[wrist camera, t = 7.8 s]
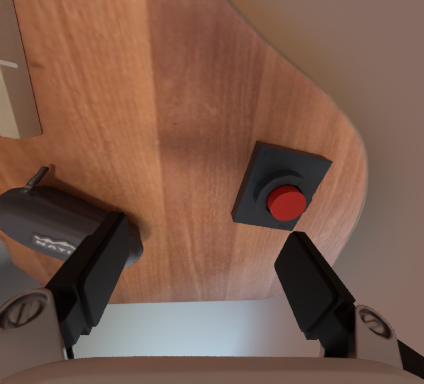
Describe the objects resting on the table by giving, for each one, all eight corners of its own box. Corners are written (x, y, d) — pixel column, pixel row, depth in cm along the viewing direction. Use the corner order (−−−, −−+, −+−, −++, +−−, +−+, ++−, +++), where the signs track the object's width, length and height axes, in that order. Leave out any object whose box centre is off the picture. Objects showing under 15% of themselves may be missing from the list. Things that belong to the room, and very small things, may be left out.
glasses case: (14, 219, 26) (-47, 244, 18) (49, 157, 25) (1, 158, 18) (131, 263, 31) (121, 295, 24) (161, 213, 31) (160, 230, 24)
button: (274, 182, 22) (279, 188, 21) (305, 188, 23) (312, 195, 21) (261, 210, 24) (265, 218, 23) (290, 215, 25) (296, 223, 23)
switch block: (256, 140, 23) (266, 149, 20) (322, 156, 25) (342, 166, 21) (230, 213, 29) (235, 230, 25) (286, 222, 30) (297, 239, 27)
